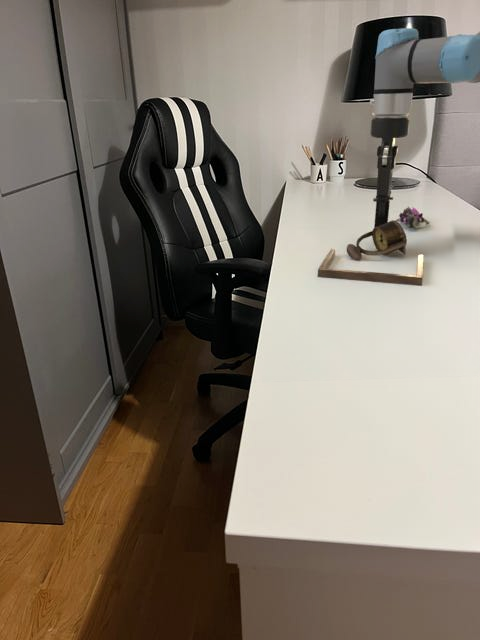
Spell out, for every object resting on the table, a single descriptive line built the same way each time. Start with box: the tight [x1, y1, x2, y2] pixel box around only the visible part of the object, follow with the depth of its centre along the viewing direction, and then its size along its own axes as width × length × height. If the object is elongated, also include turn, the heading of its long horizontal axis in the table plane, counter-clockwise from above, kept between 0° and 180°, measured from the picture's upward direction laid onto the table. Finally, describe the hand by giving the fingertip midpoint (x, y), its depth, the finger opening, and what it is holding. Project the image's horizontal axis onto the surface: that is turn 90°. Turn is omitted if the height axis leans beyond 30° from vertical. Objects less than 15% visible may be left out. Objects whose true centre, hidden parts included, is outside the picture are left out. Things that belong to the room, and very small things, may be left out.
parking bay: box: [317, 248, 424, 286], centre depth 99 cm, size 19×14×2 cm
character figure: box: [394, 206, 430, 229], centre depth 131 cm, size 9×4×16 cm
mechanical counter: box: [345, 219, 408, 260], centre depth 107 cm, size 7×13×10 cm
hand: (380, 230), depth 112 cm, fingers closed
